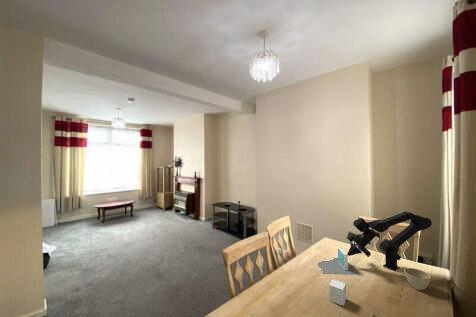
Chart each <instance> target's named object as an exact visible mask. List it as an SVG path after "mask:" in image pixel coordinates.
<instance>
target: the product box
mask: <svg viewBox="0 0 476 317" xmlns="http://www.w3.org/2000/svg"><path fill="white" fill-rule="evenodd" d="M328 288H329V293H328V294H329V301H330V302H332V303H334V302H335V303H334V304H338V305H340V306H342V305H343V307H344V306H345V305H346V304H345V303H346V302H347V301H346V300H347V283H346V282H342V281H339V280H337V279H334V278H333V279H332V280H331V281H330V283H329V285H328Z"/></svg>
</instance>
